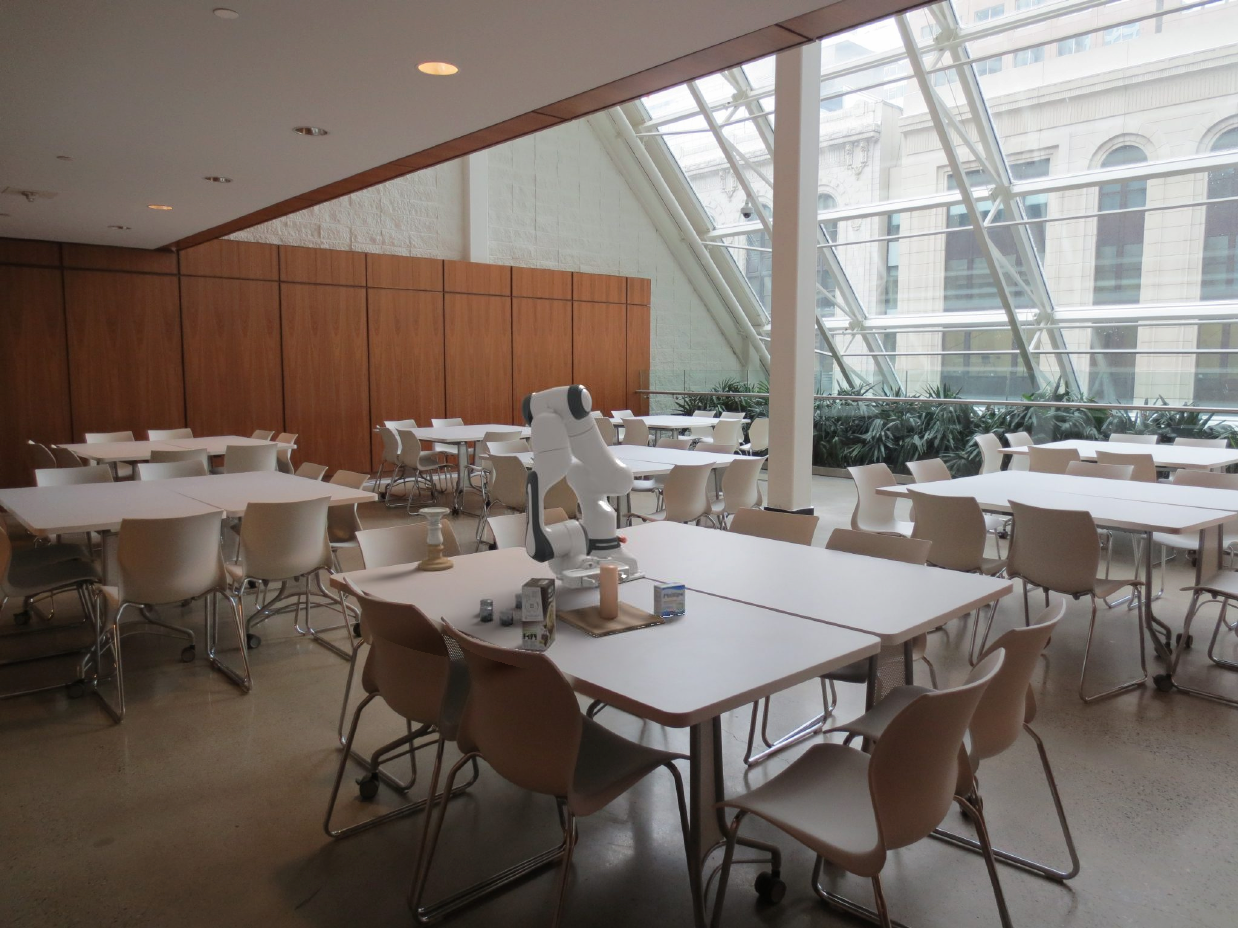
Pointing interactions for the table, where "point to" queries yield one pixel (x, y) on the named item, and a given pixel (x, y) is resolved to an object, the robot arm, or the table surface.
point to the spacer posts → (505, 615)
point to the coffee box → (538, 613)
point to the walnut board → (599, 626)
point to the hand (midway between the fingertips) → (610, 581)
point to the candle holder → (434, 541)
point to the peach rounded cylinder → (608, 591)
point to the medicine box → (669, 599)
